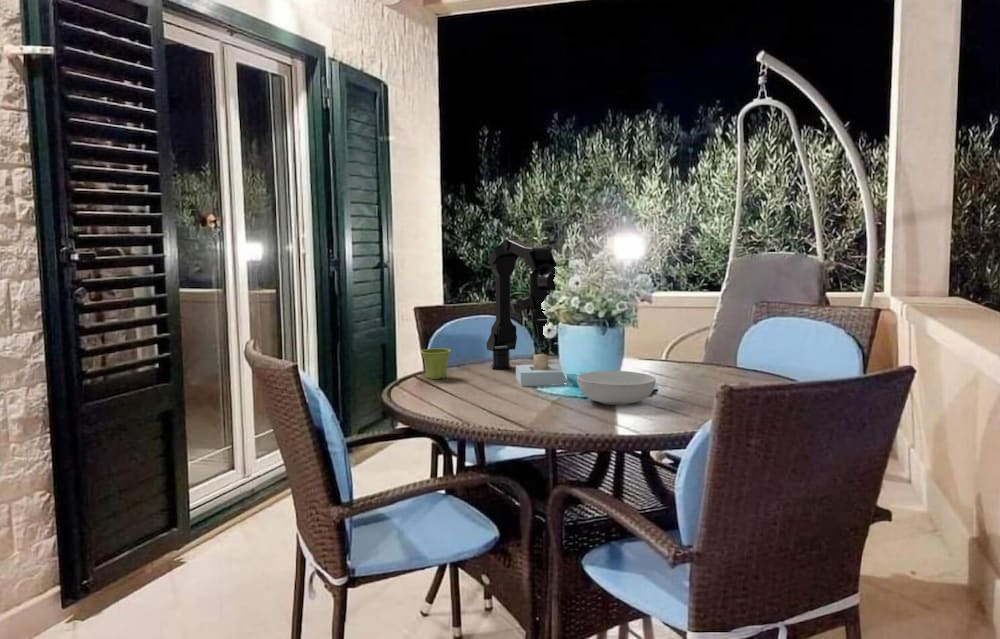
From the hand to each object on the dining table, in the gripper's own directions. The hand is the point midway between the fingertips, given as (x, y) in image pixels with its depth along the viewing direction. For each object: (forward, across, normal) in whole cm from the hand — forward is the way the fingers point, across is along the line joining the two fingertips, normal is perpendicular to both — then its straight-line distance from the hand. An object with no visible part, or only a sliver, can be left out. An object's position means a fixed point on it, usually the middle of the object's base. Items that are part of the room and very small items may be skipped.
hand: (539, 339), depth 244 cm
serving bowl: (+13, +33, +16) cm, 39 cm away
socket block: (+13, +1, 0) cm, 13 cm away
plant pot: (+13, -10, -32) cm, 36 cm away
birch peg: (+13, +1, 0) cm, 13 cm away
